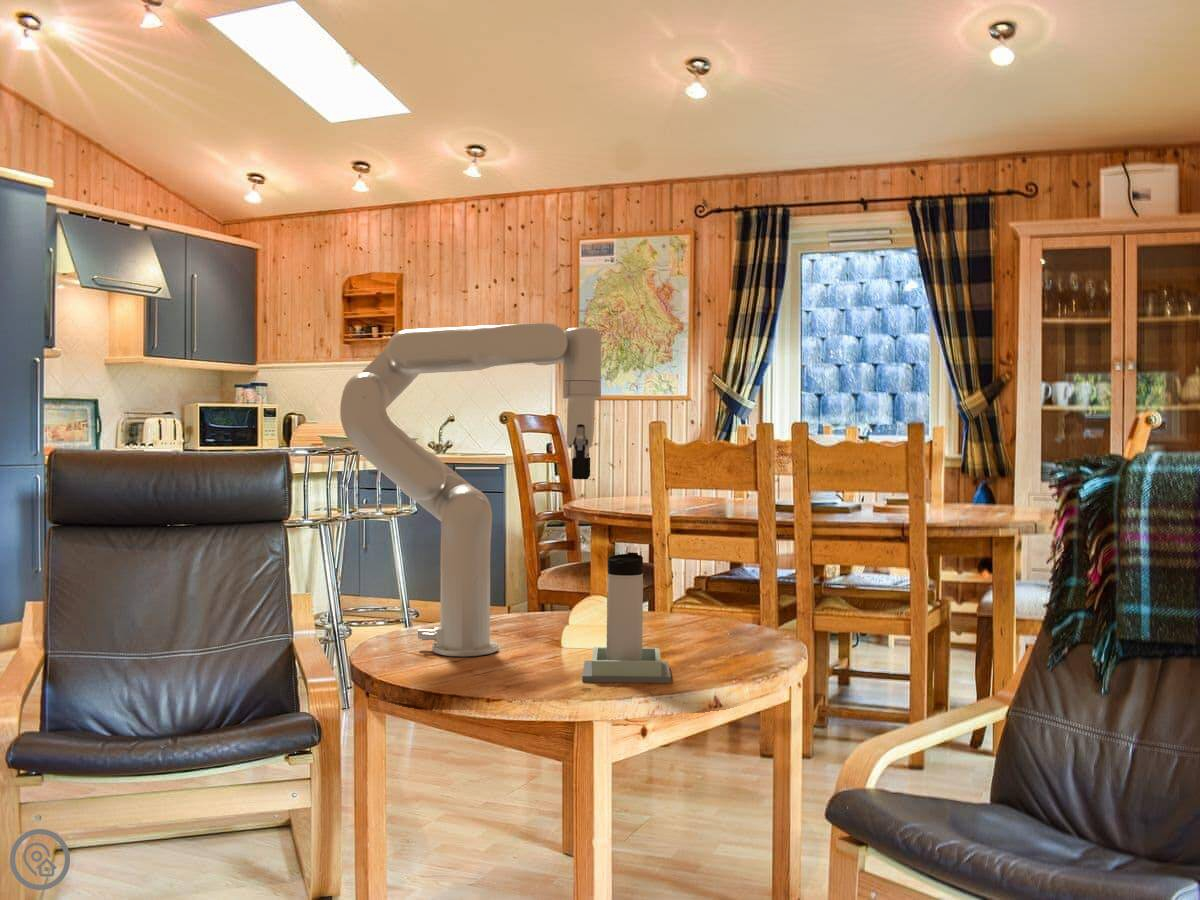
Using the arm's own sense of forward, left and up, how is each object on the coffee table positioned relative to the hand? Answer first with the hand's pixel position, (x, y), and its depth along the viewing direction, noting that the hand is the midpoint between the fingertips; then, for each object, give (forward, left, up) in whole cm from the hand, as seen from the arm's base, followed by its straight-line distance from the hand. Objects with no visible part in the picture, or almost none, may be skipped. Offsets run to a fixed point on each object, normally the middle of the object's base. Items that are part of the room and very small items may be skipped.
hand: (581, 478), depth 210 cm
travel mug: (+9, -23, -32) cm, 41 cm away
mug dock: (+9, -23, -33) cm, 42 cm away
